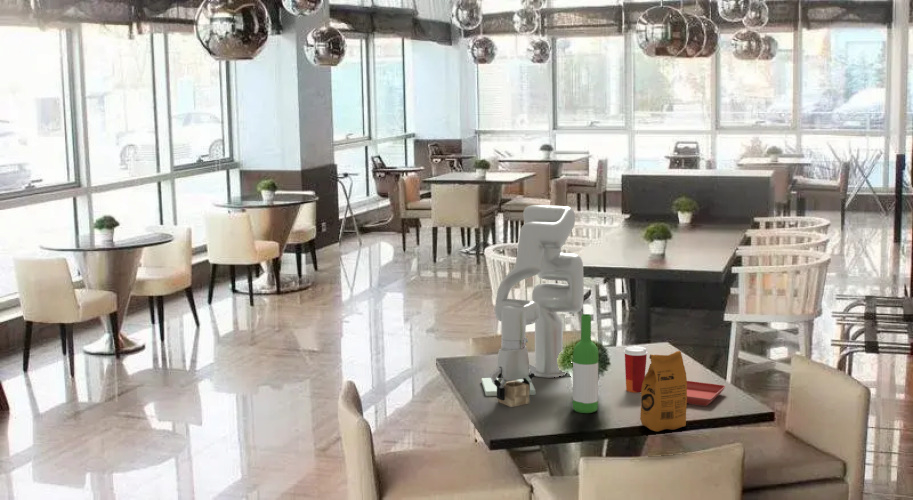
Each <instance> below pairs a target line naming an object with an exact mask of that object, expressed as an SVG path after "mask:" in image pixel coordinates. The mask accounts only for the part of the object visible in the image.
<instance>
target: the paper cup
mask: <svg viewBox="0 0 913 500" xmlns="http://www.w3.org/2000/svg"><path fill="white" fill-rule="evenodd" d="M623 353H624V367H625V369H624V370H625V387H626V388H625V389H626V391H627V392H629V393H634V394H635V393H636V394H637V393H639V394H641V389H642V383H643V381H644V378H645V375H646V368H647V355H648V351H647V348H646V347H644V346H638V345H634V346H627V347H625V348H624V351H623Z"/></svg>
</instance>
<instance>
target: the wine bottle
mask: <svg viewBox="0 0 913 500" xmlns="http://www.w3.org/2000/svg"><path fill="white" fill-rule="evenodd" d="M580 323H581V324H580V326H581V327H580V329H581V330H580V341H578V342H577V343H576V345H574V348H573V351H572V363H573V368H572V409H573V411H575V412H576V413H580V414H591V413H595V412H596V411H597V410H598V409H599V408H598V406H599V403H598V402H599V349H598V347H597V345H596V344H595V343H594V342H593V341H592V315H591V314H588V313H584V314H583V313H582V314H581V321H580Z"/></svg>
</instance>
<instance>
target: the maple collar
mask: <svg viewBox="0 0 913 500" xmlns="http://www.w3.org/2000/svg"><path fill="white" fill-rule="evenodd" d="M503 388H505V400H500V399H498V398H497V402H498V403H499V404H502V405H505V406H507V407H510V408H514V407H519V406H523V405H527V404H530V395H529V385H528V384H525V383H523V382H520V381H517V380H513V381H508V382H506V383H505V385H504V386H503Z"/></svg>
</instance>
